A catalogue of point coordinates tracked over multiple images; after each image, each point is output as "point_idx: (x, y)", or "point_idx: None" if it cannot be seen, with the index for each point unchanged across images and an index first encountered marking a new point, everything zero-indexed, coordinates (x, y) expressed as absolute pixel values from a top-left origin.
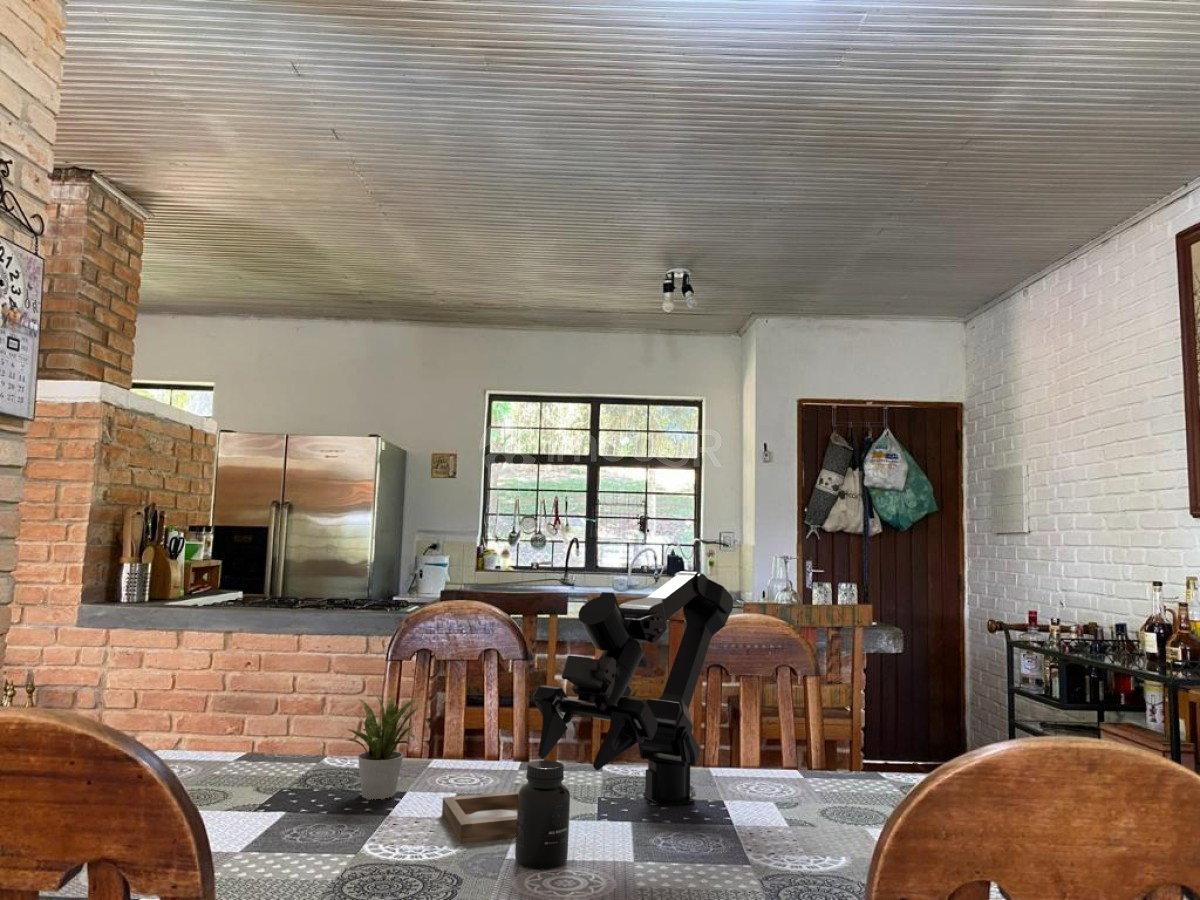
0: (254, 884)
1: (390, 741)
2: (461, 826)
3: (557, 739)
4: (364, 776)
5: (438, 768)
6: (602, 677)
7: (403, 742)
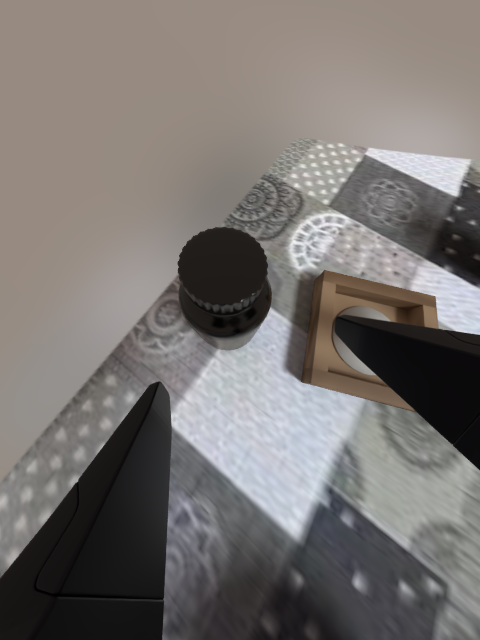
0: (298, 147)
1: None
2: (323, 271)
3: (421, 408)
4: None
5: None
6: None
7: None
